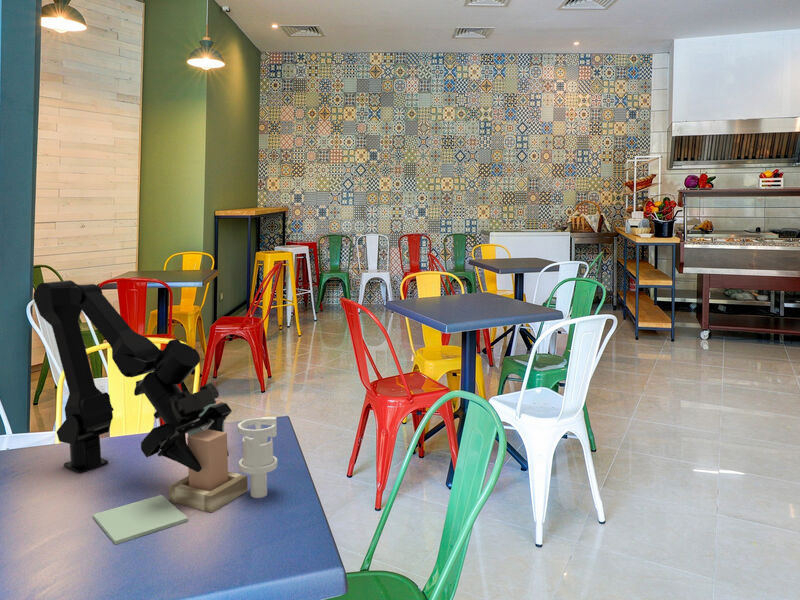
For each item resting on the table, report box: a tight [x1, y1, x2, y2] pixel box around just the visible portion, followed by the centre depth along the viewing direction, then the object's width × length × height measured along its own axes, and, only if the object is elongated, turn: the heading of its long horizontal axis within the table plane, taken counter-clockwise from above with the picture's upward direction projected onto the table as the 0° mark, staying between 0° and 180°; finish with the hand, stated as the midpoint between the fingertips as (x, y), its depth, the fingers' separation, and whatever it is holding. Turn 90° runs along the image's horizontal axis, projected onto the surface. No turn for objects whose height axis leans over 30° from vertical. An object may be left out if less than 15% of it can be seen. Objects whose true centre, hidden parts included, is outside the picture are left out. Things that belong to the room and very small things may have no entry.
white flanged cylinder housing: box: [237, 416, 278, 499], centre depth 118 cm, size 7×7×15 cm
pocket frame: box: [168, 471, 249, 513], centre depth 118 cm, size 10×10×3 cm
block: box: [186, 429, 229, 491], centre depth 118 cm, size 5×5×12 cm
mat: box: [92, 494, 189, 545], centre depth 109 cm, size 12×12×1 cm
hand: (213, 463), depth 117 cm, fingers open, 7 cm apart
